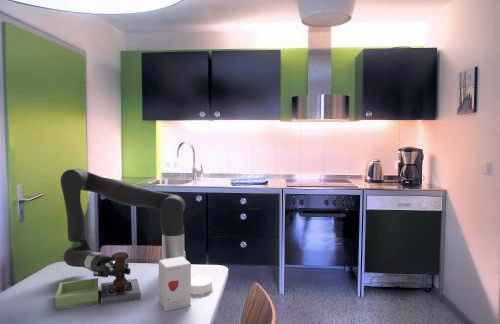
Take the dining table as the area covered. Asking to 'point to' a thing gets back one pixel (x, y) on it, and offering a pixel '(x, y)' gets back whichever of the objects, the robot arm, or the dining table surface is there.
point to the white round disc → (200, 285)
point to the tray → (77, 293)
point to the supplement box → (174, 283)
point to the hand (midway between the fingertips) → (124, 273)
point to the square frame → (122, 296)
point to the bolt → (120, 266)
